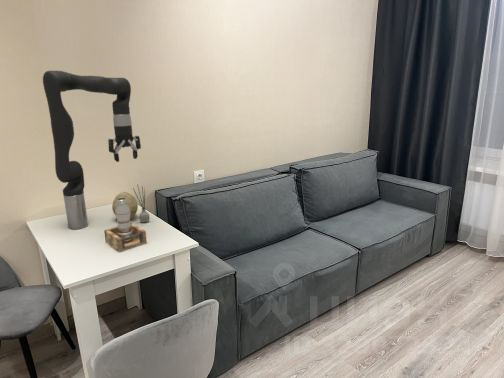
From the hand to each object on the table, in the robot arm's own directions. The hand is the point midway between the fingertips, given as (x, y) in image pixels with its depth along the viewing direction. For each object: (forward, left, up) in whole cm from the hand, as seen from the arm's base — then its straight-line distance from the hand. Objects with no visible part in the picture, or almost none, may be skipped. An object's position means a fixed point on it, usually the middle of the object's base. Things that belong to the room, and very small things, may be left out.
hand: (126, 160), depth 171 cm
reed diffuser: (-10, +10, -36) cm, 39 cm away
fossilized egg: (-20, +6, -36) cm, 42 cm away
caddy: (+8, -8, -36) cm, 38 cm away
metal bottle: (+8, -8, -35) cm, 37 cm away
